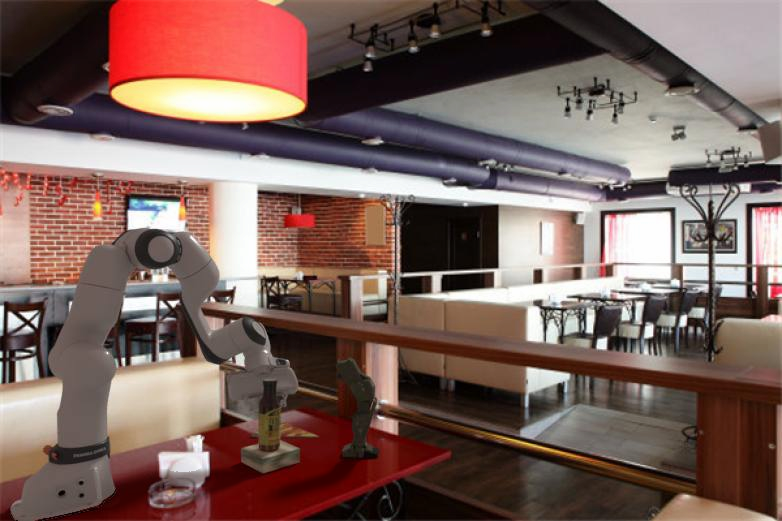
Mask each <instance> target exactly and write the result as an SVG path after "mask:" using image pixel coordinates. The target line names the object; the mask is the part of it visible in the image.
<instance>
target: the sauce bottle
mask: <svg viewBox="0 0 782 521" xmlns="http://www.w3.org/2000/svg"><path fill="white" fill-rule="evenodd" d="M263 386H264V389H263V397H262V398H260V401H259V404H258V429H259V435H258V437H257V440H258V442H257V444H259V449H260V450H262V451H273V450H277V449H278V448H279V447H280V440H281V438H282V437H281V420H282V417H281V416H282V415H281V414H282V408H281V405H280V401H279V398H278V396H277V392H276V390H277V388H276V386H277V379H274V378H269V379H264V380H263Z"/></svg>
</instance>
